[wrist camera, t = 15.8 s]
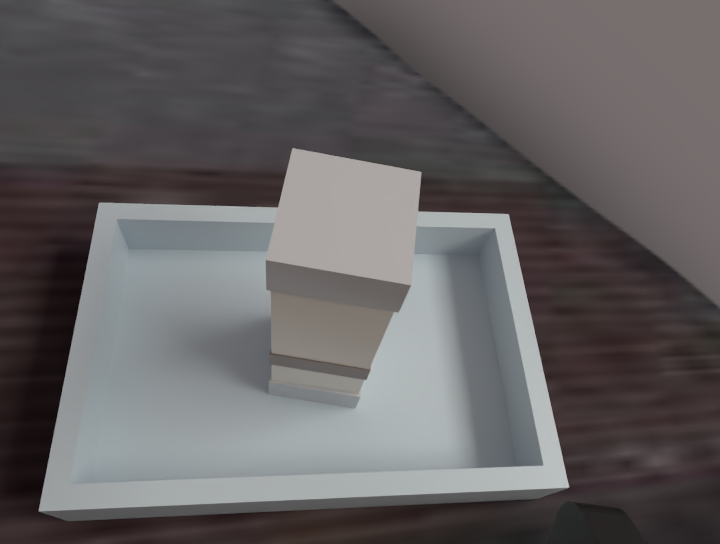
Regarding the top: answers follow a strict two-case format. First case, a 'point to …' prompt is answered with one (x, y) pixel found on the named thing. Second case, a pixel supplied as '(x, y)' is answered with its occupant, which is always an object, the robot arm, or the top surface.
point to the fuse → (337, 272)
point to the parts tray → (281, 414)
